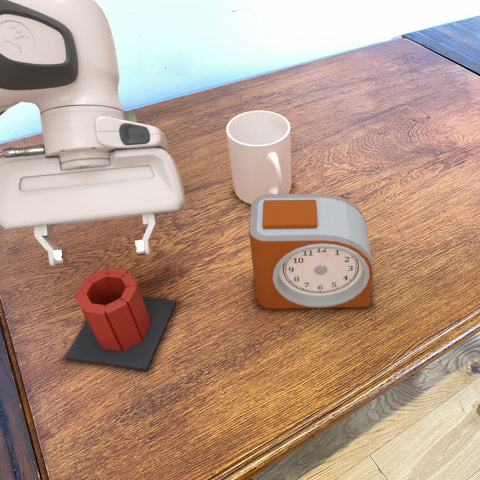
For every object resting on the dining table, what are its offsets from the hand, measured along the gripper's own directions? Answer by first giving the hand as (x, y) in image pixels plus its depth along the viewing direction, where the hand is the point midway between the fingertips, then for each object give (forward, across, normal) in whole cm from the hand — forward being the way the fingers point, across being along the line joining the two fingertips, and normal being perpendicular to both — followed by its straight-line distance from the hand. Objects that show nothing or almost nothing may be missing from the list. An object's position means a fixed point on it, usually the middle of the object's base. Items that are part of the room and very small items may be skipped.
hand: (102, 260), depth 59 cm
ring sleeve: (+9, 0, +4) cm, 10 cm away
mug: (-7, +21, +21) cm, 31 cm away
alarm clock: (+7, +25, +7) cm, 27 cm away
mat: (+9, 0, +5) cm, 10 cm away
